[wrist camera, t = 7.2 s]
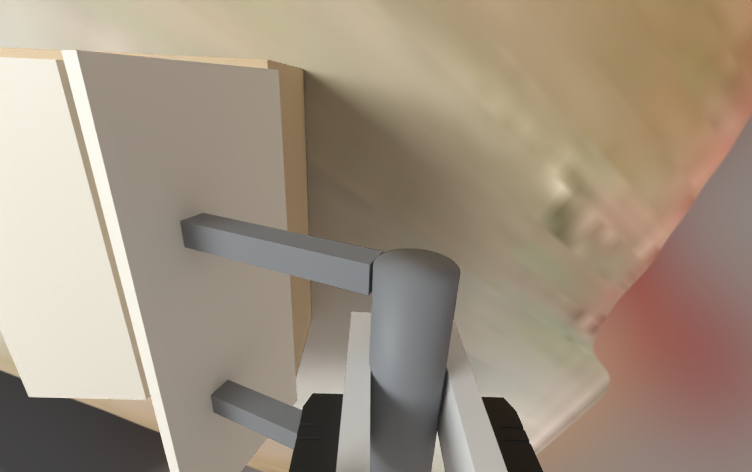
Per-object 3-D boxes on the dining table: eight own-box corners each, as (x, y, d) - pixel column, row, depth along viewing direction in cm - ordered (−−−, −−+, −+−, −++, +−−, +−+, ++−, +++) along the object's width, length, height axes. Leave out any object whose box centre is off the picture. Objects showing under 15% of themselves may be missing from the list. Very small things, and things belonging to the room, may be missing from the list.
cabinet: (60, 58, 24) (-124, 40, 15) (303, 69, 24) (263, 58, 15) (127, 313, 31) (31, 401, 23) (311, 319, 32) (287, 408, 23)
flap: (60, 50, 9) (470, 53, 6) (267, 69, 16) (509, 76, 12) (183, 524, 16) (394, 656, 13) (289, 397, 23) (445, 460, 20)
